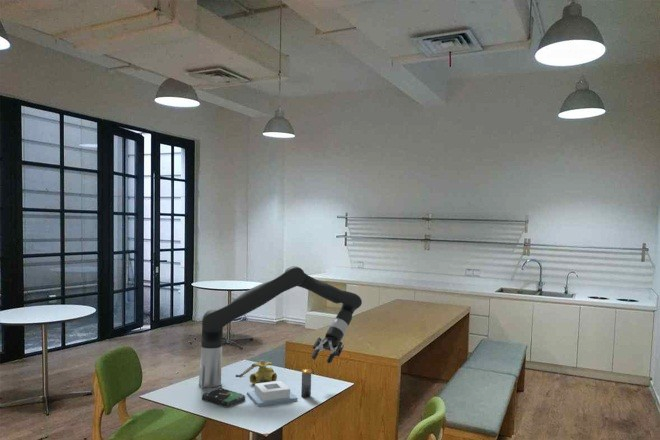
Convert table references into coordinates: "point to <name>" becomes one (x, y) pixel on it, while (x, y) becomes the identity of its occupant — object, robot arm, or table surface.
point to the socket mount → (271, 393)
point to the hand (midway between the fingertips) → (320, 360)
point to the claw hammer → (245, 371)
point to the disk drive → (223, 397)
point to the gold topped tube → (306, 383)
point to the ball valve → (263, 373)
